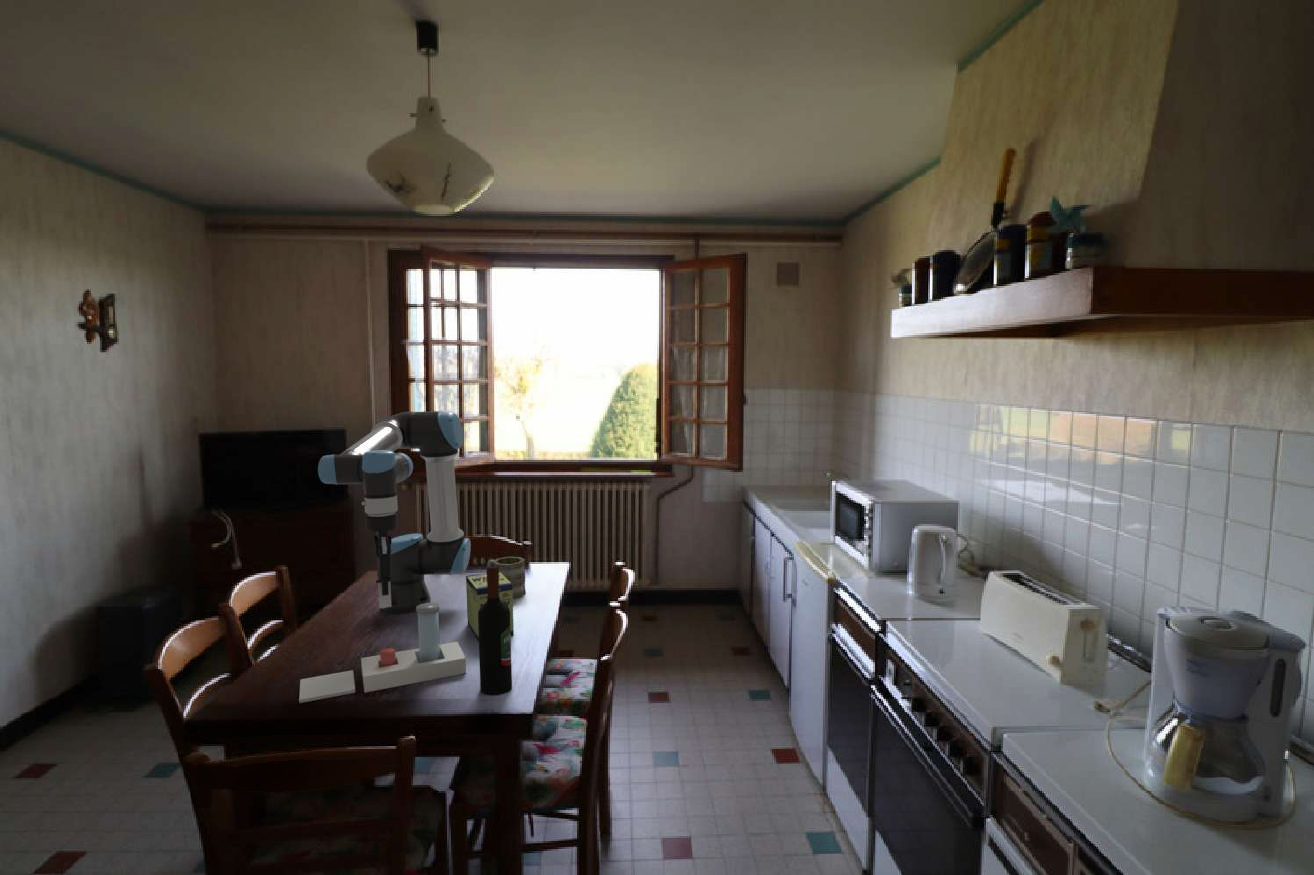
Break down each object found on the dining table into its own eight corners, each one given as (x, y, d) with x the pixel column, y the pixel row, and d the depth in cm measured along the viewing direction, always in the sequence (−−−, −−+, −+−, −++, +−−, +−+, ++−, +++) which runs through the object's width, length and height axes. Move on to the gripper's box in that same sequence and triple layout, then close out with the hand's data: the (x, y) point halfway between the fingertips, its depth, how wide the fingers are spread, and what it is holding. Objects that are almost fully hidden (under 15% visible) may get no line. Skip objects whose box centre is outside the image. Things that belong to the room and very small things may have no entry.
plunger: (380, 666, 175) (379, 649, 175) (395, 664, 177) (394, 647, 176) (381, 672, 172) (380, 654, 172) (396, 669, 174) (396, 652, 173)
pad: (300, 682, 172) (300, 679, 172) (353, 673, 177) (353, 670, 177) (299, 703, 162) (299, 699, 161) (355, 692, 167) (355, 689, 167)
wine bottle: (483, 682, 172) (479, 563, 169) (513, 680, 172) (510, 562, 170) (477, 696, 164) (473, 572, 161) (510, 694, 165) (506, 571, 162)
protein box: (478, 642, 197) (477, 589, 196) (466, 624, 211) (465, 575, 209) (514, 635, 202) (513, 583, 200) (500, 619, 216) (499, 570, 214)
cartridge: (417, 668, 180) (414, 604, 179) (439, 664, 183) (437, 601, 181) (420, 676, 175) (417, 611, 174) (443, 672, 178) (440, 607, 176)
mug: (532, 593, 241) (531, 559, 239) (510, 601, 232) (509, 566, 230) (499, 585, 249) (498, 553, 248) (477, 594, 240) (476, 560, 239)
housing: (361, 673, 177) (361, 658, 177) (457, 655, 188) (457, 641, 187) (364, 692, 167) (363, 676, 166) (466, 673, 177) (465, 657, 177)
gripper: (363, 510, 175) (367, 601, 177) (366, 519, 163) (370, 617, 165) (395, 507, 178) (398, 597, 180) (400, 516, 166) (404, 612, 168)
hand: (385, 606), depth 173 cm, fingers closed
